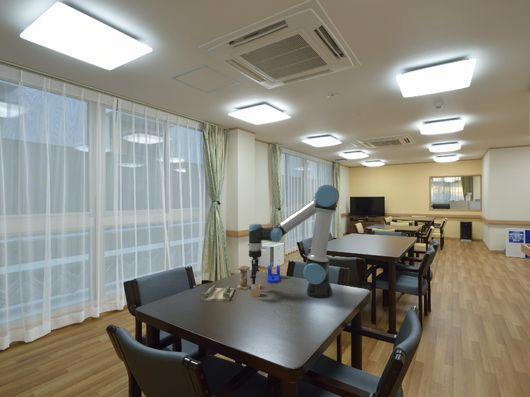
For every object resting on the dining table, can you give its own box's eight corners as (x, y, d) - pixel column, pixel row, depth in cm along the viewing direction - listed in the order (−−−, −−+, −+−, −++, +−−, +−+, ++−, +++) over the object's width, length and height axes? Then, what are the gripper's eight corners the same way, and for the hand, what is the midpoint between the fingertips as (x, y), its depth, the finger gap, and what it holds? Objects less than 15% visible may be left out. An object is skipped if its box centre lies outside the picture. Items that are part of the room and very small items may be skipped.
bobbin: (250, 285, 188) (250, 266, 188) (249, 289, 180) (249, 268, 180) (238, 285, 188) (238, 266, 188) (236, 289, 180) (236, 268, 180)
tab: (260, 294, 171) (260, 282, 171) (259, 296, 166) (259, 284, 166) (251, 293, 171) (251, 282, 171) (251, 296, 166) (250, 284, 166)
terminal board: (234, 289, 179) (234, 284, 179) (229, 300, 159) (229, 294, 159) (209, 289, 180) (209, 283, 180) (201, 300, 160) (201, 294, 160)
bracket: (268, 276, 211) (268, 264, 212) (280, 276, 211) (279, 264, 211) (266, 283, 194) (266, 270, 194) (278, 283, 193) (278, 270, 193)
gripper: (251, 246, 182) (250, 279, 181) (246, 253, 157) (246, 292, 157) (262, 246, 181) (262, 280, 181) (259, 253, 156) (259, 292, 156)
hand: (254, 285), depth 169 cm, fingers open, 13 cm apart
